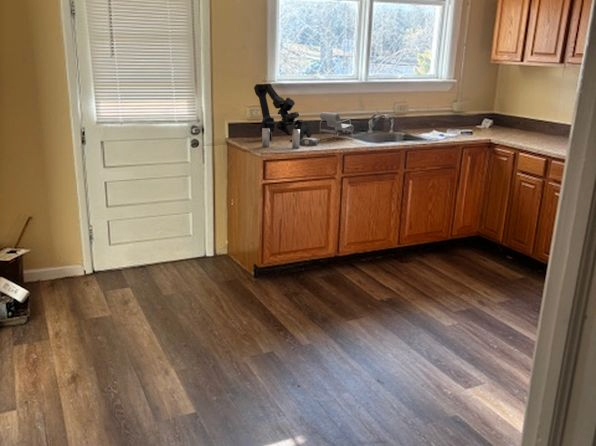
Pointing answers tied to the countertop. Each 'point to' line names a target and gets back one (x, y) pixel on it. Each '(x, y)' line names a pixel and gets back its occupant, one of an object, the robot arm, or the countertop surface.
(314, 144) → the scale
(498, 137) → the countertop surface
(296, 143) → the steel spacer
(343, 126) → the chair
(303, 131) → the handgun
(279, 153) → the countertop surface
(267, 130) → the spacer
